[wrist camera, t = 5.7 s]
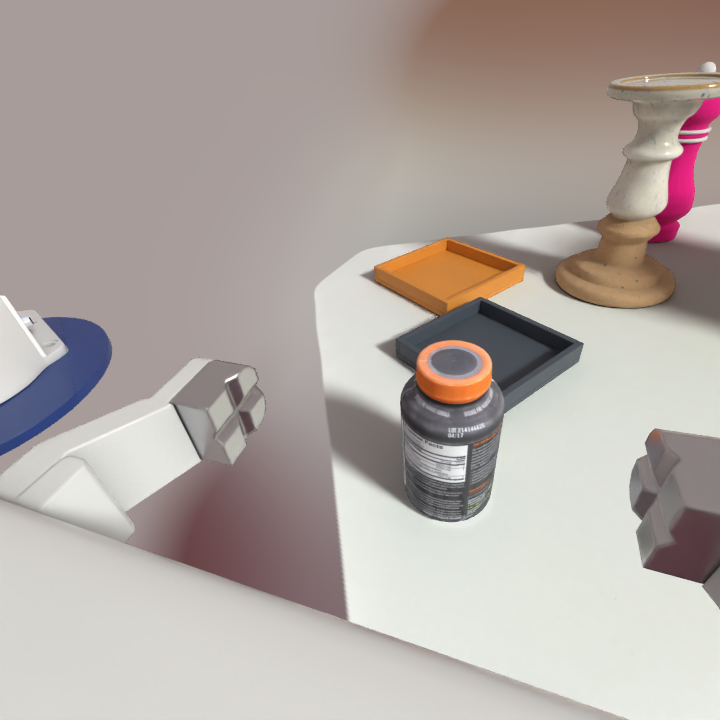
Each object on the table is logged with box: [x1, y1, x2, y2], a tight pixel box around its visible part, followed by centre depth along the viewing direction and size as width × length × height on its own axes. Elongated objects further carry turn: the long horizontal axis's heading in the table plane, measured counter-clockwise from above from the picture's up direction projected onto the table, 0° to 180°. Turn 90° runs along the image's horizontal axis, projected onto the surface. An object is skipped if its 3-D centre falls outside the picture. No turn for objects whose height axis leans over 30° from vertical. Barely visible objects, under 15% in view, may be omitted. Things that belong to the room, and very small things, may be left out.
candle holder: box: [555, 72, 720, 308], centre depth 43 cm, size 12×12×20 cm
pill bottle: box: [400, 340, 505, 522], centre depth 25 cm, size 6×6×11 cm
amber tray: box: [374, 238, 526, 316], centre depth 52 cm, size 13×13×2 cm
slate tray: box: [396, 297, 584, 413], centre depth 39 cm, size 12×12×2 cm
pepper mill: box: [648, 62, 720, 242], centre depth 53 cm, size 7×7×20 cm
